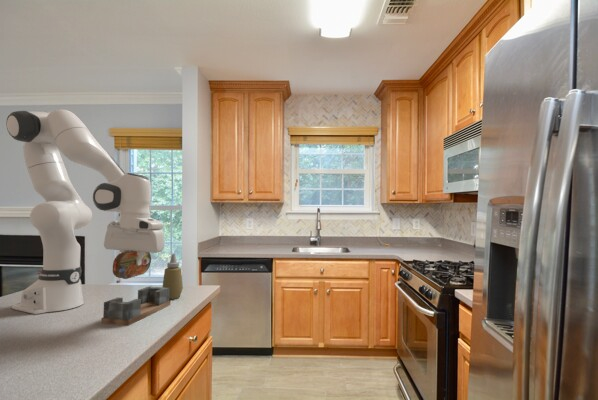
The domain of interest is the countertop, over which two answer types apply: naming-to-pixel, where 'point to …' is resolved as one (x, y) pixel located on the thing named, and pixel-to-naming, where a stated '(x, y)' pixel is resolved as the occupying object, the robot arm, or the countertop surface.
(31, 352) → the countertop surface
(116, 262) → the tin
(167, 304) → the stand
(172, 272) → the squeeze bottle
